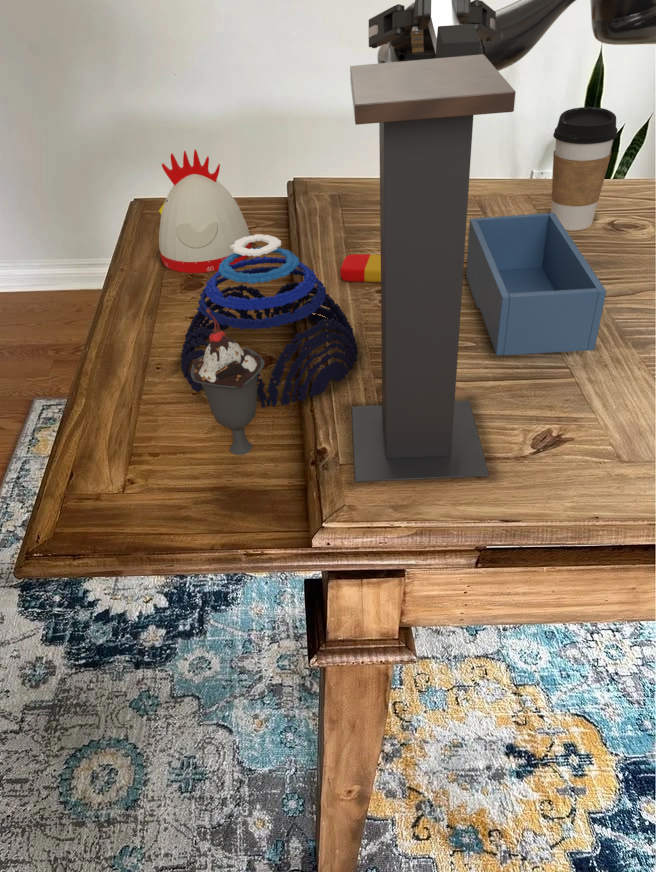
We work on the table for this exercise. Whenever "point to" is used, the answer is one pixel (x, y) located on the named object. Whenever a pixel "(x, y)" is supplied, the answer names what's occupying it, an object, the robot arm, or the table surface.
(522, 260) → the bin
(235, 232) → the kitchen timer
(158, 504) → the table surface
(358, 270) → the popsicle
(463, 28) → the long rectangular bar
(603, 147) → the coffee cup
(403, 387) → the shelf stand
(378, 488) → the table surface
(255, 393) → the sundae
